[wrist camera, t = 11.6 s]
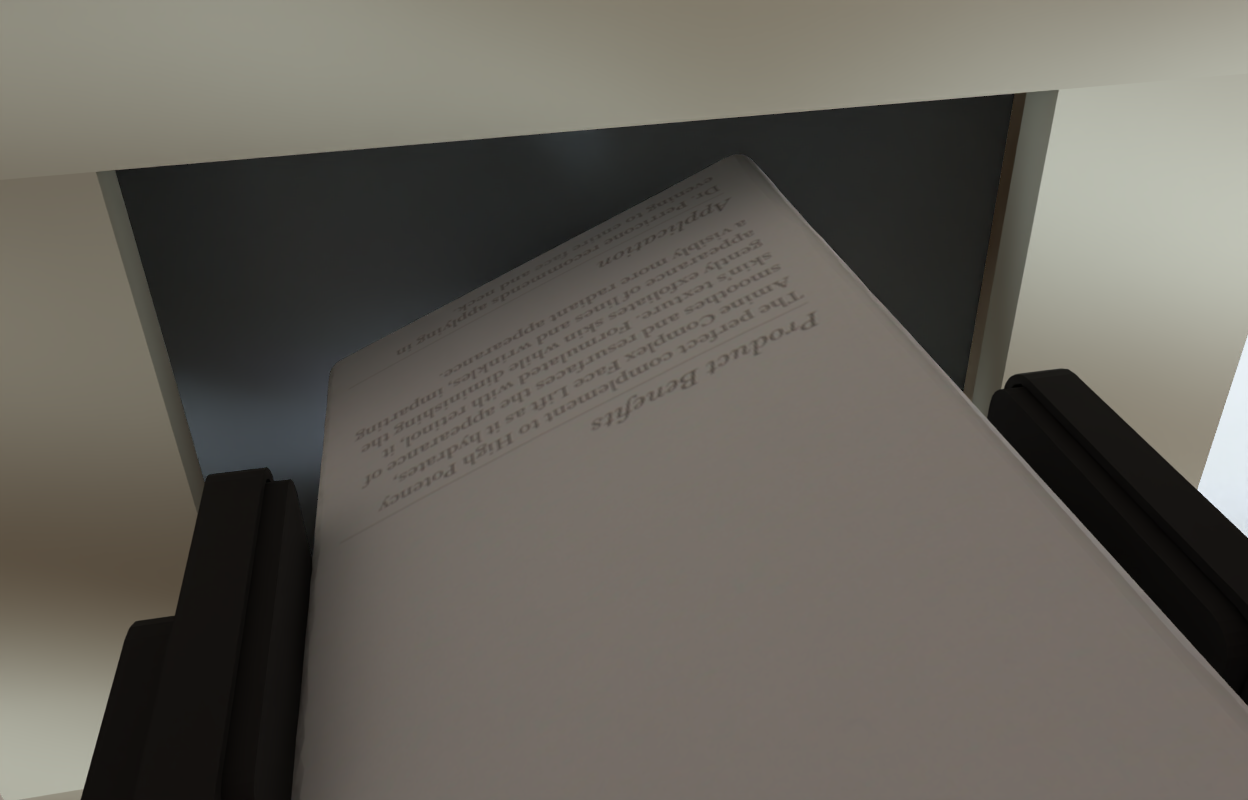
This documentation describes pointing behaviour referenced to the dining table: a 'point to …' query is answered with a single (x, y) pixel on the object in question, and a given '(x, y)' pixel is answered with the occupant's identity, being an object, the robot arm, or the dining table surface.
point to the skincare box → (716, 552)
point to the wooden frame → (537, 104)
